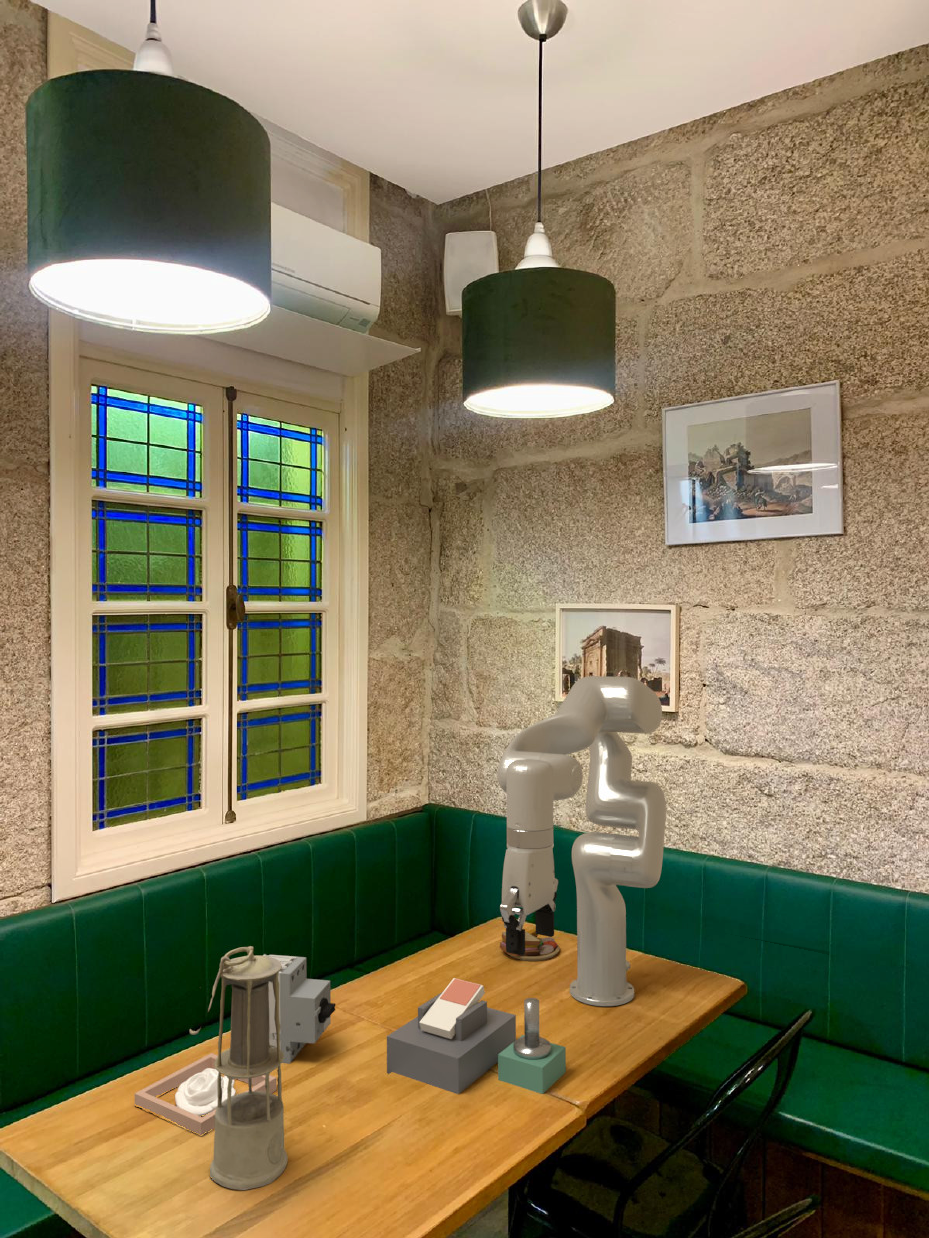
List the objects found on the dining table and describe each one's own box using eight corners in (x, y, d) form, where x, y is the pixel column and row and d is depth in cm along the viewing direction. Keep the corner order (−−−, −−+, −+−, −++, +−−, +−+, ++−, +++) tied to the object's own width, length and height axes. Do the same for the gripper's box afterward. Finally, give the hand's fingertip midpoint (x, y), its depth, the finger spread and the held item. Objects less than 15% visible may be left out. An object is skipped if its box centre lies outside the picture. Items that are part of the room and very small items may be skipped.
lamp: (300, 1170, 120) (298, 948, 120) (205, 1209, 112) (204, 971, 112) (269, 1135, 128) (267, 927, 128) (178, 1168, 121) (177, 947, 121)
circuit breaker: (324, 1066, 148) (324, 976, 148) (244, 1059, 151) (244, 970, 151) (340, 1045, 155) (339, 959, 155) (263, 1038, 158) (262, 954, 158)
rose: (251, 1064, 141) (212, 1094, 132) (252, 1092, 141) (212, 1124, 132) (200, 1053, 145) (158, 1081, 136) (200, 1080, 145) (158, 1110, 136)
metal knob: (525, 1062, 148) (524, 990, 148) (557, 1072, 145) (556, 998, 145) (506, 1078, 143) (506, 1003, 143) (539, 1088, 140) (539, 1012, 140)
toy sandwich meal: (568, 959, 195) (568, 937, 195) (509, 966, 191) (509, 944, 191) (547, 939, 207) (547, 919, 207) (492, 946, 203) (491, 925, 203)
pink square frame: (211, 1064, 149) (211, 1052, 149) (276, 1089, 141) (276, 1077, 141) (134, 1106, 136) (134, 1093, 136) (201, 1136, 128) (201, 1122, 128)
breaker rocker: (455, 985, 156) (453, 977, 155) (484, 993, 153) (482, 984, 152) (421, 1030, 147) (418, 1021, 147) (451, 1039, 144) (449, 1030, 143)
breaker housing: (448, 1029, 161) (448, 977, 161) (515, 1049, 153) (515, 994, 153) (386, 1072, 146) (386, 1014, 146) (458, 1097, 138) (458, 1035, 138)
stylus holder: (522, 1061, 149) (522, 1034, 149) (565, 1074, 145) (565, 1046, 145) (498, 1082, 143) (498, 1054, 143) (542, 1096, 138) (542, 1067, 138)
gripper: (535, 824, 153) (535, 924, 153) (481, 845, 138) (482, 956, 138) (574, 829, 149) (575, 932, 149) (524, 852, 134) (524, 966, 134)
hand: (530, 943), depth 144 cm, fingers open, 9 cm apart
